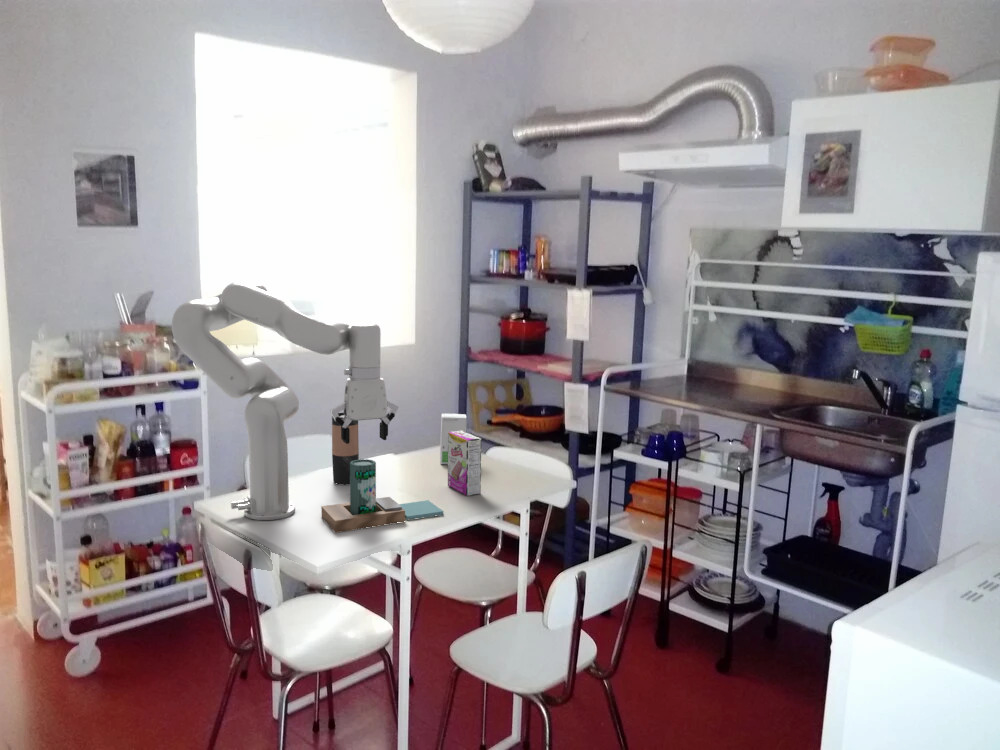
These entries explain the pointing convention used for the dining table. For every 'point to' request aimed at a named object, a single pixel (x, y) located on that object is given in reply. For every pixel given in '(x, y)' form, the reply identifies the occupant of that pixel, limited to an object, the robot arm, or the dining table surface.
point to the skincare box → (448, 425)
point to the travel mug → (343, 451)
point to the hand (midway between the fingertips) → (364, 440)
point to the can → (362, 486)
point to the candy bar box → (464, 462)
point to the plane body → (362, 515)
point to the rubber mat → (420, 509)
